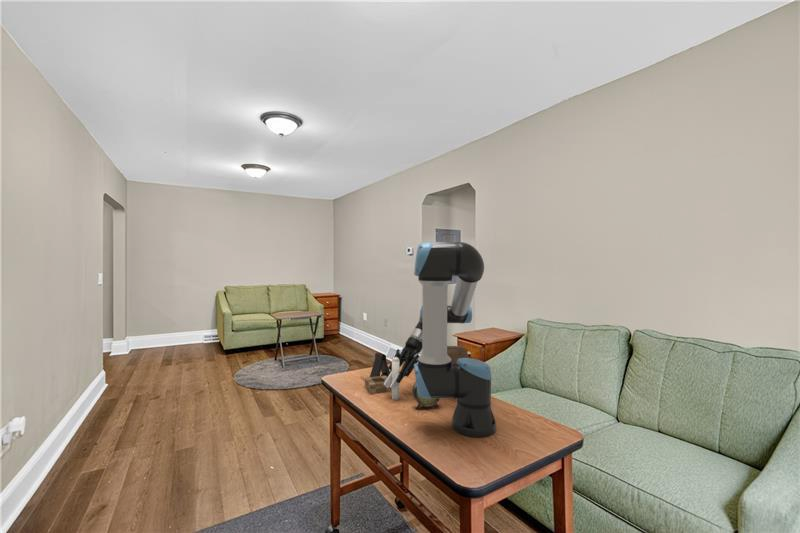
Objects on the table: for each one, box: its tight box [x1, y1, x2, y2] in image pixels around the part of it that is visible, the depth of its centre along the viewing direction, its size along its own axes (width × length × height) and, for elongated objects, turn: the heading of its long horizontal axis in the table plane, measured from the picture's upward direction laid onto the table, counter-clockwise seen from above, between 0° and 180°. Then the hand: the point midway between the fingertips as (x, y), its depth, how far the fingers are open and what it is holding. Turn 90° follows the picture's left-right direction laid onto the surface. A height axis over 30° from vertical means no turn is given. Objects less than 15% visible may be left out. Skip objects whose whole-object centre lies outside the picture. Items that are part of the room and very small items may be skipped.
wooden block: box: [447, 345, 469, 364], centre depth 157 cm, size 10×10×20 cm
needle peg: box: [391, 356, 400, 401], centre depth 152 cm, size 3×3×18 cm
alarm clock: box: [412, 381, 441, 410], centre depth 143 cm, size 11×5×16 cm, turn 102°
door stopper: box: [369, 352, 390, 377], centre depth 178 cm, size 9×6×12 cm, turn 124°
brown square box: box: [364, 375, 392, 395], centre depth 163 cm, size 10×10×4 cm
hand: (388, 387), depth 149 cm, fingers closed on needle peg, 3 cm apart
